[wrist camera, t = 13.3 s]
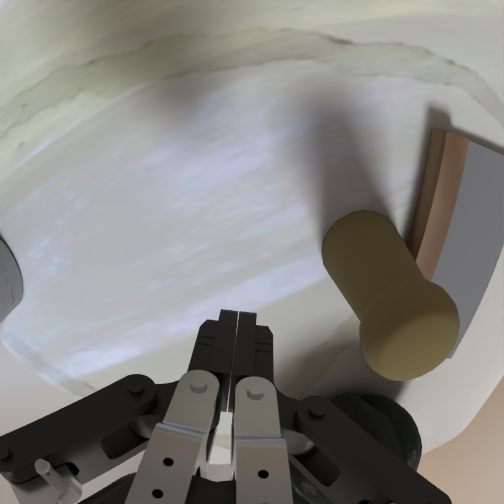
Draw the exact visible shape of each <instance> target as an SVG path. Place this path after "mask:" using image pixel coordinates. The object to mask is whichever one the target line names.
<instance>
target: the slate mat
mask: <svg viewBox="0 0 504 504" xmlns="http://www.w3.org/2000/svg"><path fill="white" fill-rule="evenodd" d="M503 245H504V155H502V154H500V153H498V152H495V151H493V150H491V149H488V148H486V147H484V146H481V145H479V144H476V143H474V142H471V141H469V143H468V149H467V155H466V160H465V165H464V170H463V175H462V179H461V184H460V188H459V192H458V196H457V200H456V204H455V208H454V212H453V215H452V219H451V223H450V226H449V229H448V233H447V236H446V239H445V242H444V246H443V249H442V252H441V255H440V258H439V260H438V263H437V266H436V269H435V272H434V275H433V277H432V280H431V282H433V283H435V284H437V285H439V286H441V287H442V288H443V289H444V290H445V291H446V292H447V293H448V294H449V296H450V297H451V298H452V300H453V301H454V302H455V304H456V307H457V310H458V314H459V319H460V330H459V335H458V340H457V342H456V344H455V346H454V348H453V350H452V351H451V353H450V354H449V355H448V356H447V357H446V359H447V358H452V356H453V354H454V352H455V351H456V349H457V347H458V345H459V344H460V342H461V340H462V338H463V336H464V334H465V332H466V331H467V329H468V327H469V325H470V323H471V321H472V319H473V317H474V315H475V313H476V311H477V309H478V306H479V304H480V302H481V300H482V298H483V295H484V293H485V291H486V289H487V286H488V284H489V282H490V279H491V277H492V274H493V272H494V269H495V267H496V264H497V261H498V259H499V256H500V253H501V250H502V248H503Z"/></svg>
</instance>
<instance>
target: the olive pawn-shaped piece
mask: <svg viewBox="0 0 504 504" xmlns="http://www.w3.org/2000/svg"><path fill="white" fill-rule="evenodd" d="M322 258H323V264H324V266H325V268H326V270H327V272H328V273H329V275H330V276H331V278H332V279H333V281H334V282H335V284H336V285H337V287H338V288H339V290H340V291H341V293H342V294H343V296H344V297H345V299H346V300H347V302H348V303H349V305H350V306H351V308H352V309H353V311H354V312H355V314H356V315H357V317H358V319H359V320H360V322H361V323H360V347H361V350H362V353H363V356H364V357H365V359H366V361H367V363H368V364H369V366H370V367H371V368H372V370H374V371H375V372H377V373H378V374H380V375H381V376H383V377H385V378H387V379H390V380H395V381H403V380H411V379H414V378H417V377H420V376H422V375H424V374H426V373H428V372H430V371H431V370H433V369H434V368H436V367H437V366H438V365H439V364H441V363H442V362H443V361H444V360H445V359H446V357H447V356H448V355H449V354H450V353H451V351H452V350H453V348H454V346H455V344H456V342H457V340H458V335H459V330H460V319H459V314H458V310H457V307H456V304H455V302H454V301H453V300H452V298H451V297H450V296H449V294H448V293H447V292H446V291H445V290H444V289H443V288H442V287H441V286H439V285H437V284H435V283H433V282H431V281H429V280H427V279H425V278H424V276H423V274H422V273H421V271H420V269H419V267H418V265H417V263H416V262H415V260H414V258H413V256H412V255H411V253H410V251H409V249H408V248H407V246H406V244H405V243H404V241H403V239H402V238H401V236H400V234H399V233H398V231H397V229H396V228H395V226H394V225H393V224H392V223H391V221H390V220H389V219H388V218H387V217H385V216H383V215H381V214H379V213H377V212H373V211H364V210H363V211H359V212H354V213H350V214H348V215H347V216H345V217H343V218H341V219H340V220H338V221H337V222H336V223H335V225H334V226H333V227H332V228H331V229H330V230H329V232H328V234H327V236H326V238H325V240H324V243H323V249H322Z"/></svg>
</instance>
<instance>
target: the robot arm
mask: <svg viewBox="0 0 504 504" xmlns="http://www.w3.org/2000/svg"><path fill="white" fill-rule="evenodd" d="M22 296H23V283H22V278H21V274H20V271H19V268H18V266H17V264H16V261H15V259H14V257H13V256H12V254H11V252H10V250H9V249H8V248H7V246H6V245H5V244H4V242H3V241H2V240H1V239H0V323H1V322H2V321H3V320H4V319H5V318H6V317H7V316H8V315H9V314H10V313H11V312H12V310H13V309H14V308H15V307H16V306H17V305H18V304H19V303H20V302H21V300H22ZM256 317H257V313H250V312H241V311H240V312H239V319H238V311H232V310H224V309H221V311H220V316H219V320H218V321H215V320H206V321H205V322H204V323H203V324H202V325H201V326H200V328H199V332H198V335H197V339H196V342H195V346H194V349H193V353H192V357H191V360H190V364H189V367H188V371H187V373H185V374H184V375H183V376H182V377H181V378H180V380H178V381H175V382H172V383H165V384H155V383H154V382H153V380H152V379H150V378H149V377H147V376H145V375H141V374H132V375H128V376H126V377H124V378H122V379H120V380H118V381H116V382H114V383H112V384H110V385H108V386H107V387H105V388H103V389H101V390H99V391H97V392H95V393H93V394H91V395H89V396H87V397H85V398H83V399H81V400H78V401H76V402H74V403H72V404H70V405H68V406H66V407H64V408H62V409H60V410H58V411H56V412H54V413H52V414H49V415H47V416H45V417H43V418H41V419H38V420H36V421H34V422H32V423H30V424H28V425H26V426H23V427H21V428H19V429H16V430H14V431H12V432H9V433H7V434H5V435H3V436H0V474H1V475H3V477H4V478H5V479H6V480H7V481H8V482H9V483H10V484H11V487H12V489H13V491H14V493H15V495H16V497H17V499H18V501H19V503H20V504H74V503H76V502H77V501H78V500H79V499H80V497H81V495H82V485H83V484H85V483H87V482H89V481H91V480H92V479H94V478H96V477H98V476H100V475H102V474H104V473H105V472H107V471H109V470H111V469H112V468H114V467H116V466H118V465H120V464H121V463H123V462H125V461H126V460H128V459H130V458H131V457H133V456H135V455H136V454H138V453H140V452H141V451H143V450H145V449H146V450H145V453H144V455H143V457H142V460H141V463H140V465H139V468H138V470H137V472H135V473H131V474H128V475H126V476H124V477H121V478H120V479H118V480H116V481H115V482H113V483H112V484H110V485H108V486H107V487H105V488H103V489H102V490H100V491H98V492H97V493H95V494H93V495H91V496H90V497H88V498H86V499H84V500H83V501H81V502H79V503H78V504H311V503H310V502H309V501H308V500H306V499H305V498H304V497H302V496H301V495H299V494H298V493H295V492H293V491H292V488H291V479H290V471H289V462H288V460H289V461H290V462H291V463H292V464H293V465H294V466H295V467H296V468H297V469H298V470H299V471H300V472H301V473H302V474H303V475H304V476H305V477H306V478H307V479H308V480H309V481H310V482H311V483H312V484H313V485H314V486H316V487H317V488H318V489H319V490H320V491H321V492H322V493H323V494H324V495H325V496H326V497H327V498H328V499H329V500H330V501H332V502H333V503H334V504H452V502H451V500H450V498H449V497H448V495H447V494H445V493H444V492H443V491H441V490H440V489H439V488H437V487H436V486H434V485H433V484H432V483H430V482H429V481H428V480H426V479H425V478H424V477H422V476H421V475H420V474H419V473H417V472H416V471H415V470H413V469H412V468H411V467H409V466H408V465H407V464H406V463H404V462H403V461H402V460H401V459H399V458H398V457H397V456H395V455H394V454H393V453H392V452H390V451H389V450H388V449H387V448H385V447H384V446H383V445H382V444H381V443H379V442H378V441H377V440H376V439H374V438H373V437H372V436H371V435H370V434H368V433H367V432H366V431H365V430H364V429H362V428H361V427H360V426H359V425H358V424H356V423H355V422H354V421H353V420H352V419H351V418H349V417H348V416H347V415H346V414H345V413H344V412H342V411H341V410H340V409H339V408H338V407H337V406H335V405H334V404H333V403H332V402H331V401H329V400H328V399H326V398H324V397H320V396H309V397H306V398H304V399H303V400H301V401H299V400H296V399H292V398H289V397H287V396H285V395H283V394H282V393H281V392H279V391H278V389H277V388H276V386H275V384H274V379H273V334H272V332H271V331H270V329H269V327H268V326H260V325H256ZM237 319H238V327H237ZM236 329H237V335H236ZM235 340H236V342H235ZM234 349H235V350H234ZM232 364H233V365H232ZM230 379H231V383H230ZM229 387H230V395H229ZM228 395H229V406H228V412H232V413H233V417H232V426H231V472H230V481H221V482H214V481H211V480H208V479H206V475H207V468H208V464H209V460H210V456H211V451H212V447H213V443H214V439H215V435H216V431H217V426H218V424H219V420H220V413H221V411H223V412H226V410H227V402H228Z"/></svg>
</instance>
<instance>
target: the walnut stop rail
mask: <svg viewBox="0 0 504 504" xmlns="http://www.w3.org/2000/svg"><path fill="white" fill-rule="evenodd" d="M468 143H469V139H467V138H465V137H462V136H460V135H457V134H454V133H451V132H449V131H445V130H439V129H433V128H432V135H431V141H430V147H429V153H428V158H427V163H426V168H425V173H424V178H423V183H422V187H421V192H420V196H419V200H418V204H417V208H416V212H415V216H414V220H413V224H412V227H411V231H410V234H409V238H408V241H407V245H406V246H407V248H408V249H409V251H410V253H411V255H412V256H413V258H414V260H415V262H416V263H417V265H418V267H419V269H420V271H421V273H422V274H423V276H424V278H425V279H427V280H429V281H431V280H432V277H433V275H434V272H435V269H436V266H437V263H438V260H439V258H440V255H441V252H442V249H443V246H444V242H445V239H446V236H447V233H448V229H449V226H450V223H451V219H452V215H453V212H454V208H455V204H456V200H457V196H458V192H459V188H460V184H461V179H462V175H463V170H464V165H465V160H466V155H467V149H468ZM370 368H371V367H370ZM371 371H374V370H372V368H371Z"/></svg>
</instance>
